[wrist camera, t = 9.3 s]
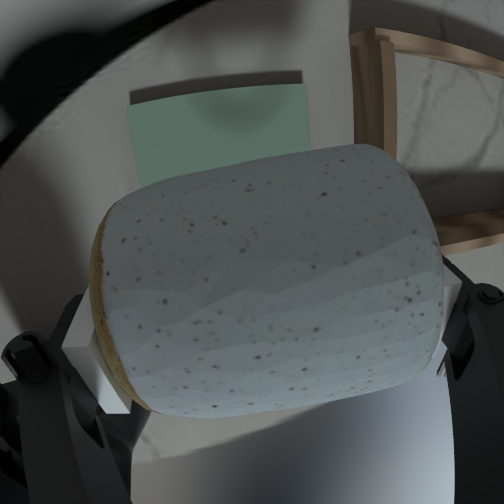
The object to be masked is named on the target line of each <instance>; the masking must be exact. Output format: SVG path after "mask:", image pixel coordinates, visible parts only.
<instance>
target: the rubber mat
mask: <svg viewBox="0 0 504 504" xmlns="http://www.w3.org/2000/svg"><path fill="white" fill-rule="evenodd" d="M127 113H128V119H129V126H130V132H131V137H132V143H133V149H134V154H135V159H136V164H137V170H138V175H139V179H140V184H141V188H144V187H146V186H148V185H151V184H153V183H155V182H158V181H161V180H164V179H168V178H171V177H175V176H180V175H185V174H190V173H195V172H201V171H206V170H210V169H215V168H220V167H225V166H229V165H234V164H238V163H243V162H247V161H251V160H256V159H261V158H266V157H272V156H278V155H284V154H290V153H297V152H304V151H310V146H309V125H308V108H307V93H306V84H280V85H263V86H250V87H239V88H230V89H221V90H213V91H205V92H198V93H192V94H185V95H179V96H173V97H168V98H163V99H157V100H152V101H148V102H143V103H138V104H134V105H129V106H127Z"/></svg>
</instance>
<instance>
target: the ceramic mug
mask: <svg viewBox="0 0 504 504" xmlns="http://www.w3.org/2000/svg"><path fill="white" fill-rule="evenodd" d="M89 297H90V304H91V311H92V317H93V323H94V326H95V331H96V335H97V339H98V343H99V346H100V349H101V351H102V353H103V355H104V357H105V360H106V362H107V364H108V366H109V368H110V370H111V372H112V373H113V375H114V377H115V379H116V380H117V381H118V383H119V384H120V385H121V386H122V387H123V389H124V390H125V391H126V392H127V393H128V394H129V396H130V397H131V398H132V399H133V400H134V401H136V402H137V403H138V404H140V405H141V406H142V407H144V408H145V409H146V410H150V411H153V412H156V413H160V414H166V415H174V416H182V417H190V418H227V417H235V416H241V415H247V414H253V413H258V412H267V411H275V410H282V409H289V408H296V407H302V406H308V405H314V404H320V403H325V402H330V401H334V400H338V399H342V398H347V397H352V396H357V395H361V394H366V393H370V392H374V391H378V390H382V389H386V388H389V387H392V386H396V385H399V384H402V383H405V382H407V381H410V380H412V379H413V378H415V377H416V376H418V375H419V374H420V373H421V372H422V371H423V370H424V369H425V368H426V367H427V365H428V364H429V362H430V360H431V357H432V355H433V354H434V352H435V350H436V348H437V345H438V341H439V338H440V333H441V328H442V322H443V316H444V268H443V260H442V255H441V250H440V244H439V240H438V237H437V233H436V230H435V227H434V225H433V222H432V219H431V217H430V214H429V212H428V209H427V207H426V205H425V203H424V200H423V198H422V196H421V194H420V192H419V190H418V188H417V186H416V184H415V183H414V181H413V180H412V179H411V177H410V176H409V174H408V173H407V172H406V170H405V169H404V168H403V167H402V166H401V165H400V164H399V163H398V162H397V161H396V160H395V159H394V158H393V157H392V156H391V155H390V154H389V153H387V152H385V151H383V150H382V149H380V148H378V147H375V146H372V145H368V144H352V145H345V146H338V147H331V148H325V149H318V150H311V151H304V152H297V153H290V154H284V155H278V156H272V157H266V158H261V159H256V160H251V161H247V162H243V163H238V164H234V165H229V166H225V167H220V168H215V169H210V170H206V171H201V172H195V173H190V174H185V175H180V176H175V177H171V178H168V179H164V180H161V181H158V182H155V183H153V184H151V185H148V186H146V187H144V188H141V189H139V190H137V191H135V192H132V193H130V194H128V195H126V196H125V197H123V198H122V199H120V200H119V201H117V202H116V203H114V204H113V206H112V207H111V208H110V209H109V210H108V212H107V213H106V215H105V217H104V218H103V220H102V222H101V223H100V225H99V227H98V230H97V233H96V236H95V240H94V243H93V246H92V251H91V258H90V268H89Z"/></svg>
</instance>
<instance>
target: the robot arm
mask: <svg viewBox="0 0 504 504" xmlns="http://www.w3.org/2000/svg"><path fill="white" fill-rule="evenodd" d="M441 255H442V260H443V268H444V316H443V322H442V328H441V333H440V338H439V341H438V345H437V348H436V350H435V352H434V354H433V355H432V356H434V355H436V353H437V351H438V348H439V346H440V343H441V341H443V343H444V344H445V345H446V347H447V348H448V349H447V351H446V353H445V355H444V358H443V360H442V362H441V364H440V366H439V369H438V370H437V376H440V375H441V373H442V371H443V369H444V367H445V368H446V373H445V375H444V376H447V381H448V388H449V396H450V404H451V414H452V425H453V438H454V460H455V497H454V504H504V293H503V292H502V291H501V290H500V289H498V288H497V287H495V286H493V285H490V284H485V283H478V284H474V283H473V282H472V281H471V280H470V279H469V278H468V277H467V276H466V275H465V274H464V273H463V272H461V271H460V270H459V269H458V268H457V267H456V266H455V265H454V264H451V262H450V261H449V260H448V259H447V258H444V255H443V254H441ZM1 358H2V360H3V361H4V363H5V364H6V366H7V367H8V368H9V370H10V371H11V372H12V374H13V375H14V376H15V378H16V379H17V380H15V381H12V382H8V383H4V384H1V383H0V504H132V502H131V500H130V496H131V494H130V493H131V492H130V491H131V462H132V452H133V449H134V447H135V445H136V443H137V441H138V438H139V436H140V434H141V432H142V430H143V428H144V426H145V424H146V422H147V420H148V418H149V416H150V413H151V411H150V410H146V409H145V408H144V407H142V406H141V405H140V404H138V403H137V402H136V401H134V400H133V399H132V398H131V397H130V396H129V394H128V393H127V392H126V391H125V390H124V389H123V387H122V386H121V385H120V384H119V383H118V381H117V380H116V379H115V377H114V375H113V373H112V372H111V370H110V368H109V366H108V364H107V362H106V360H105V357H104V355H103V353H102V351H101V349H100V346H99V343H98V339H97V335H96V331H95V326H94V323H93V317H92V311H91V304H90V297H89V286H88V288H87V290H86V292H85V294H81V295H76V296H75V297H74V298H73V299H72V300H71V301H70V302H69V303H68V304H67V305H66V307H65V309H64V311H63V313H62V315H61V318H60V319H59V321H58V323H57V327H56V328H55V330H54V332H53V334H52V336H51V339H50V341H48V342H45V340H44V339H43V337H42V335H40V334H39V333H37V332H32V331H29V332H25V333H22V334H20V335H18V336H16V337H15V338H13V339H12V340H11V341H10V342H9V343H8V344H7V345H6V347H5V348H4V350H3V352H2V356H1Z"/></svg>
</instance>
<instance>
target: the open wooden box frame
mask: <svg viewBox="0 0 504 504" xmlns="http://www.w3.org/2000/svg"><path fill="white" fill-rule="evenodd" d="M349 42H350V53H351V66H352V81H353V102H354V144H368V145H372V146H375V147H378V148H380V149H382V150H383V151H385V152H387V153H389V154H390V155H391V156H392V157H393V158H394V159H395V160H396V149H397V91H396V69H395V54H394V52H398V53H404V54H410V55H416V56H421V57H426V58H431V59H436V60H440V61H445V62H449V63H453V64H457V65H461V66H465V67H468V68H472V69H475V70H479V71H482V72H485V73H488V74H492V75H495V76H498V77H501V78H503V79H504V62H503V61H500V60H498V59H495V58H493V57H490V56H487V55H484V54H482V53H479V52H476V51H473V50H470V49H467V48H464V47H461V46H457V45H454V44H450V43H447V42H443V41H440V40H436V39H432V38H428V37H424V36H419V35H415V34H410V33H405V32H400V31H395V30H389V29H384V28H377V27H374V28H370V29H367V30H363V31H360V32H356V33H353V34H350V35H349ZM431 219H432V222H433V225H434V227H435V230H436V233H437V237H438V240H439V244H440V250H441V254H443V255H444V256H446V255H450V254H455V253H459V252H463V251H468V250H472V249H476V248H481V247H485V246H489V245H493V244H498V243H502V242H504V209H497V210H490V211H482V212H474V213H466V214H459V215H451V216H443V217H436V218H431Z"/></svg>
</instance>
